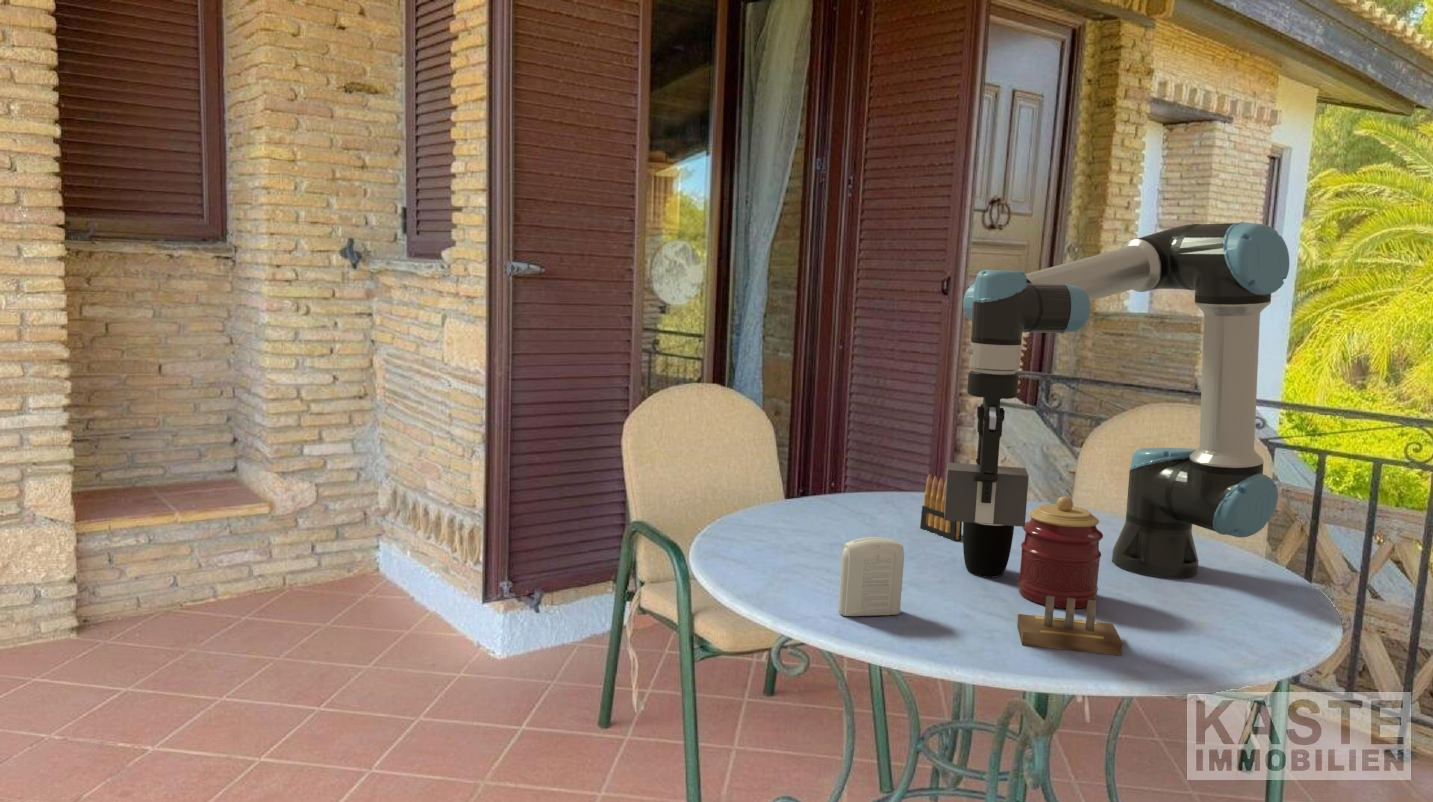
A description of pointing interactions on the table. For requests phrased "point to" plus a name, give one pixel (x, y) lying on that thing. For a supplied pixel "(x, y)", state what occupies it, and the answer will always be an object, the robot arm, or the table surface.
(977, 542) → the mug
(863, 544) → the photo printer
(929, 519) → the ammunition clip
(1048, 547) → the canister
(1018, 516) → the grey bevelled block
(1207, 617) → the table surface
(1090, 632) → the block
